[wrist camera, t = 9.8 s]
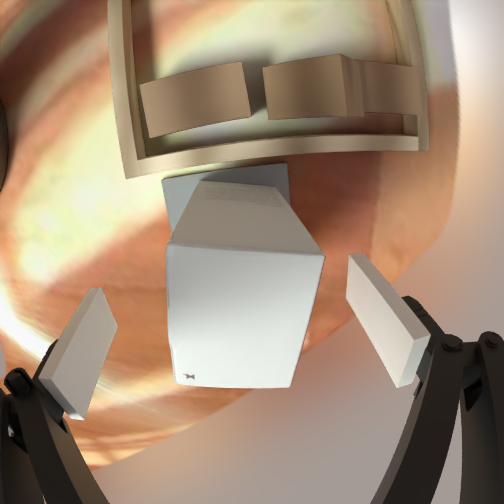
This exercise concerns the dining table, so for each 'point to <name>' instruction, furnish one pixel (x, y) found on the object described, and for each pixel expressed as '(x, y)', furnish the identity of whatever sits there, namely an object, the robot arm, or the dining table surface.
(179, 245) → the small box
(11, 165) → the dining table surface
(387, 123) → the dining table surface
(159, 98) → the offcut
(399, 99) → the offcut
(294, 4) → the dining table surface
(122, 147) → the tray
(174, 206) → the mat
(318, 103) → the offcut
